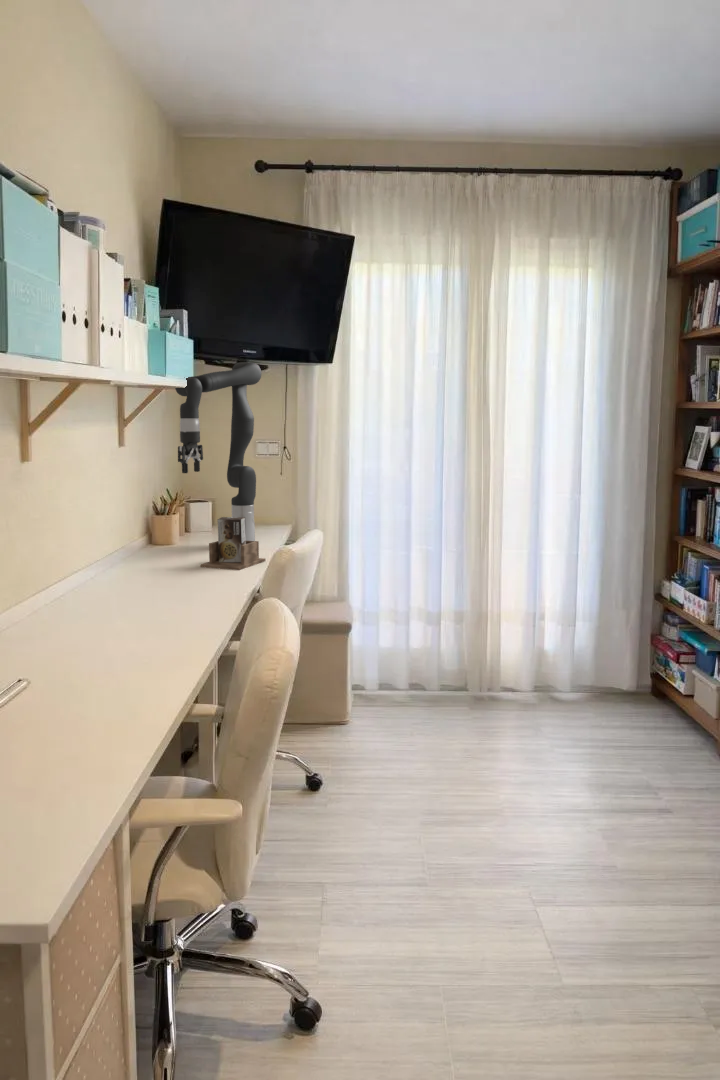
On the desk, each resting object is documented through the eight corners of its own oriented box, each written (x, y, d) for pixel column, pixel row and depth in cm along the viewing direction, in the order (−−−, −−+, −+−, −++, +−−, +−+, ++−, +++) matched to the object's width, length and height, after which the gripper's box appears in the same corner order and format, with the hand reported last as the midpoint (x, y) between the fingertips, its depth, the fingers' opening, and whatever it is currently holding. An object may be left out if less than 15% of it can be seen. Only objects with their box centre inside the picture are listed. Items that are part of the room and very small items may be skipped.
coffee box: (247, 560, 333) (246, 516, 331) (242, 563, 327) (241, 519, 325) (223, 559, 334) (222, 516, 332) (218, 562, 328) (217, 518, 326)
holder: (228, 558, 343) (227, 537, 341) (265, 561, 337) (265, 540, 336) (200, 567, 324) (199, 545, 323) (239, 570, 318) (238, 547, 317)
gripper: (191, 429, 354) (192, 471, 356) (171, 430, 341) (172, 473, 343) (208, 430, 351) (209, 471, 353) (188, 430, 338) (189, 474, 340)
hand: (191, 472), depth 348 cm, fingers open, 8 cm apart
